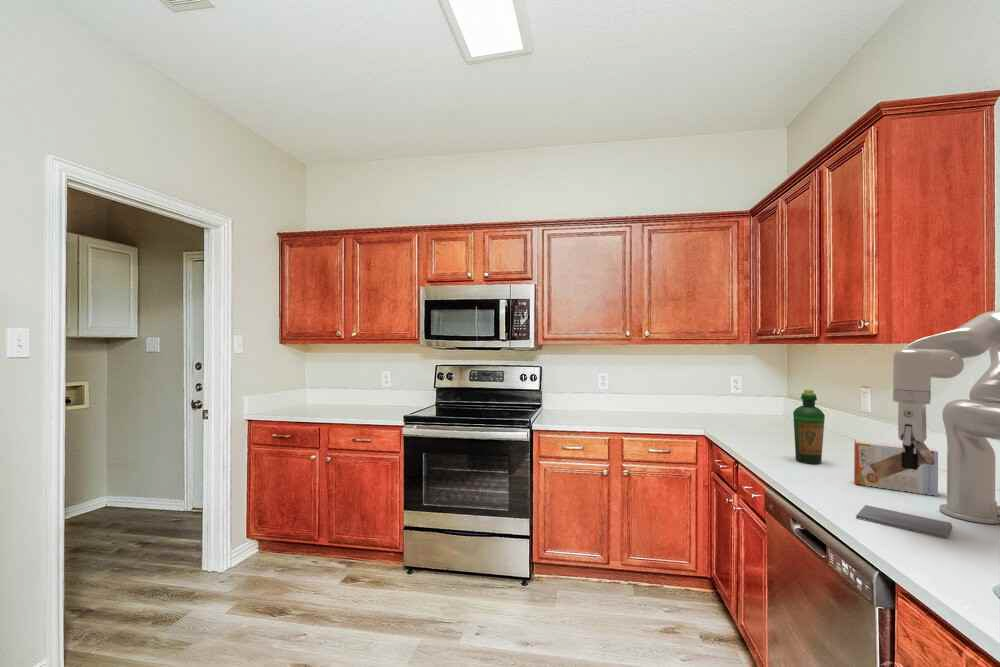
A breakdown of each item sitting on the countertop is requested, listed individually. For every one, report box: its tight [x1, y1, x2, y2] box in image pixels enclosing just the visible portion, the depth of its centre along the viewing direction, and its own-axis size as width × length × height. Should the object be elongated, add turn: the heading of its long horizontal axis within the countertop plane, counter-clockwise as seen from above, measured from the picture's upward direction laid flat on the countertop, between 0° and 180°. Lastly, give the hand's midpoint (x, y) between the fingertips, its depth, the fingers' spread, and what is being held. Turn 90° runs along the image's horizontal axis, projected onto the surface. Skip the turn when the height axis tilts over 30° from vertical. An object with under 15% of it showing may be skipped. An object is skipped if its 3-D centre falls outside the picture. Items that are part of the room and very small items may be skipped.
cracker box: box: [853, 439, 939, 497], centre depth 158 cm, size 14×6×21 cm
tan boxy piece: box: [870, 439, 935, 479], centre depth 129 cm, size 13×8×6 cm
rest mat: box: [855, 504, 952, 540], centre depth 128 cm, size 18×12×1 cm, turn 44°
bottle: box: [792, 389, 825, 465], centre depth 191 cm, size 11×11×28 cm
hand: (910, 466), depth 127 cm, fingers closed on tan boxy piece, 3 cm apart
